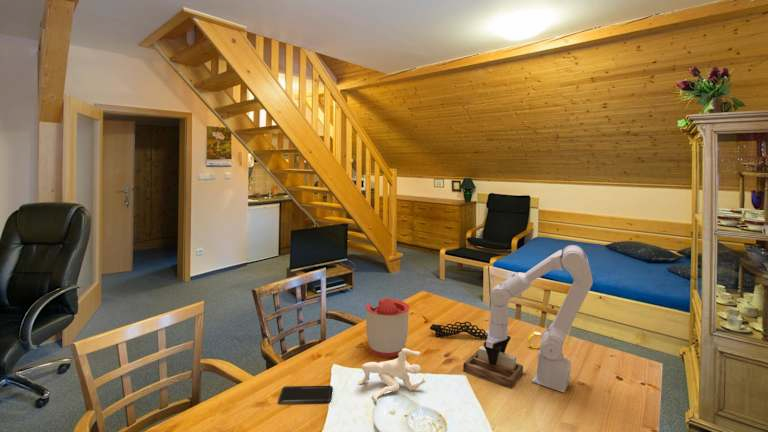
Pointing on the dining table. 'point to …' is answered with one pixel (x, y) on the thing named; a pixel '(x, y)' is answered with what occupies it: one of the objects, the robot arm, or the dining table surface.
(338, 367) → the dining table surface
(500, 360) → the clay strip
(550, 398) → the dining table surface
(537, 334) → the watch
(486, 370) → the rack
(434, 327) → the decorative element
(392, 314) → the citrus juicer
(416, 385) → the person figurine
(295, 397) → the phone
